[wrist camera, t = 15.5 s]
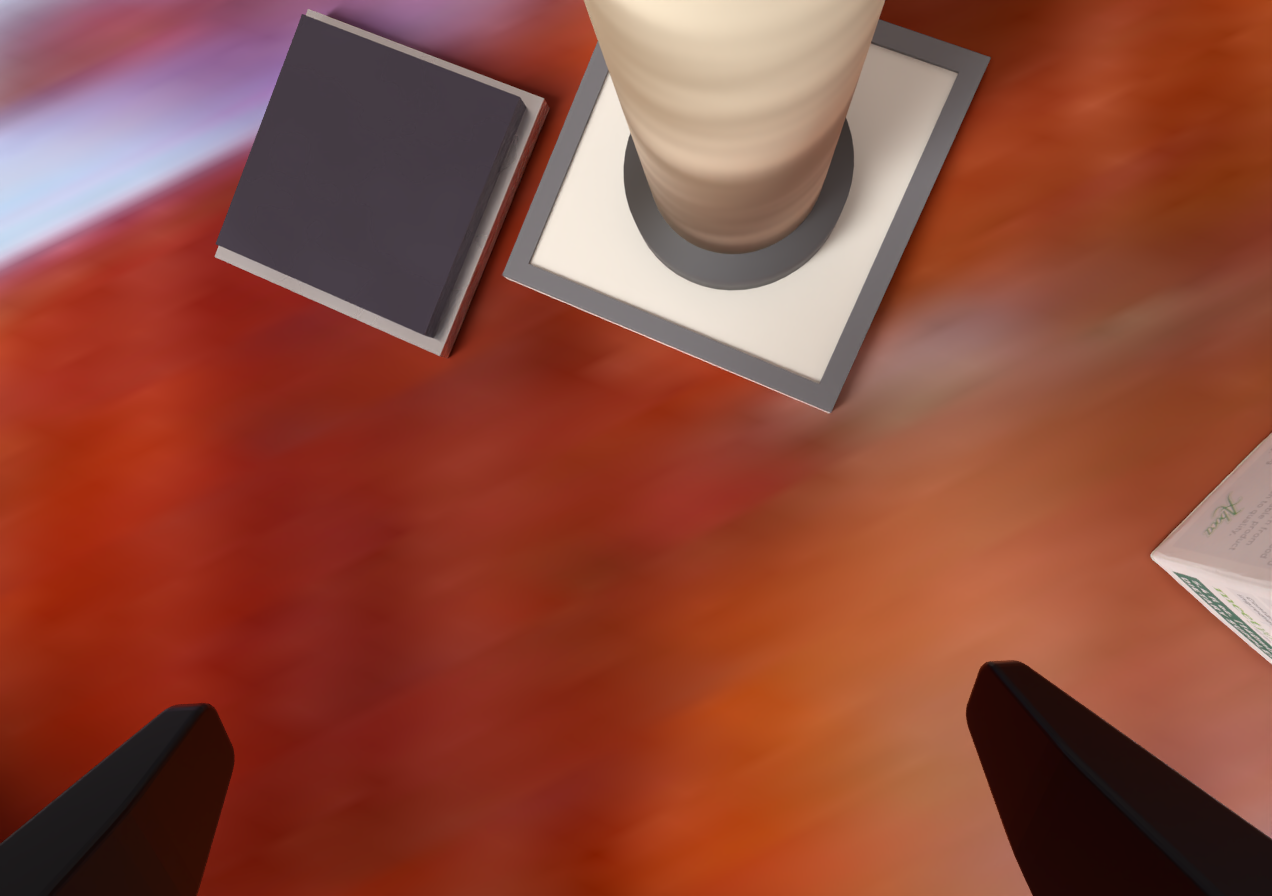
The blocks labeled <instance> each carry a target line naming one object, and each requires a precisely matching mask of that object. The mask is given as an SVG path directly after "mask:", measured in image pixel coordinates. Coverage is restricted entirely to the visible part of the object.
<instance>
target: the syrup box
mask: <svg viewBox="0 0 1272 896" xmlns="http://www.w3.org/2000/svg"><path fill="white" fill-rule="evenodd" d="M1151 558H1152V560H1153V561H1155V562H1156V563H1157V564H1158V565H1160V566H1161V567H1162V568H1163V569H1164V570H1165V571H1167V572H1168V573H1169V574H1170V575H1171V576H1172V577H1173V578H1174V579H1175V580H1176V581H1177V582H1178V583H1179V584H1181V585H1182V586H1183V587H1184V588H1185V589H1186V590H1187V591H1188V592H1190V593H1191V594H1192V595H1193V596H1194V597H1195V598H1196V599H1197V600H1198V601H1199V602H1200V603H1202V604H1203V605H1204V606H1205V607H1206V608H1207V609H1208V610H1209V611H1210V612H1211V613H1212V614H1213V615H1215V616H1216V617H1217V618H1218V619H1219V620H1220V621H1222V622H1223V623H1224V624H1225V625H1226V626H1228V627H1229V628H1230V629H1231V630H1232V631H1233V632H1235V633H1236V634H1237V635H1238V636H1239V637H1240V638H1242V639H1243V640H1244V641H1245V642H1246V643H1247V644H1248V645H1250V646H1251V647H1252V648H1253V649H1254V650H1255V651H1257V652H1258V653H1259V654H1260V655H1261V656H1263V657H1264V658H1265V659H1266V660H1267V661H1269V662H1270V663H1271V664H1272V433H1271V434H1270V435H1269V436H1268V437H1267V438H1266V439H1265V440H1263V441H1262V442H1261V443H1260V444H1259V445H1258V446H1257V447H1256V448H1255V449H1254V450H1253V451H1252V452H1251V453H1250V454H1249V455H1248V456H1247V457H1246V458H1245V459H1244V460H1243V461H1242V462H1241V463H1240V464H1239V465H1238V466H1237V467H1236V468H1235V469H1234V470H1233V471H1232V472H1231V473H1230V474H1229V475H1228V476H1227V477H1226V478H1225V479H1224V480H1223V481H1222V482H1221V483H1220V484H1219V485H1218V486H1217V487H1216V488H1215V489H1214V490H1213V491H1212V492H1211V493H1210V494H1209V495H1208V496H1207V497H1206V498H1205V499H1204V500H1203V501H1202V502H1201V503H1200V504H1199V505H1198V506H1197V507H1196V508H1195V509H1194V510H1193V511H1192V512H1191V513H1190V514H1189V515H1188V516H1187V517H1186V518H1185V519H1184V520H1183V521H1182V523H1181V524H1179V525H1178V526H1177V527H1176V528H1175V529H1174V530H1173V531H1172V532H1171V533H1170V534H1169V535H1168V536H1167V538H1166V539H1165V540H1164V541H1163V542H1162V543H1161V544H1160V545H1159V546H1158V547H1157V548H1156V549H1155V550H1154V551H1153V552H1152V553H1151Z"/></svg>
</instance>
